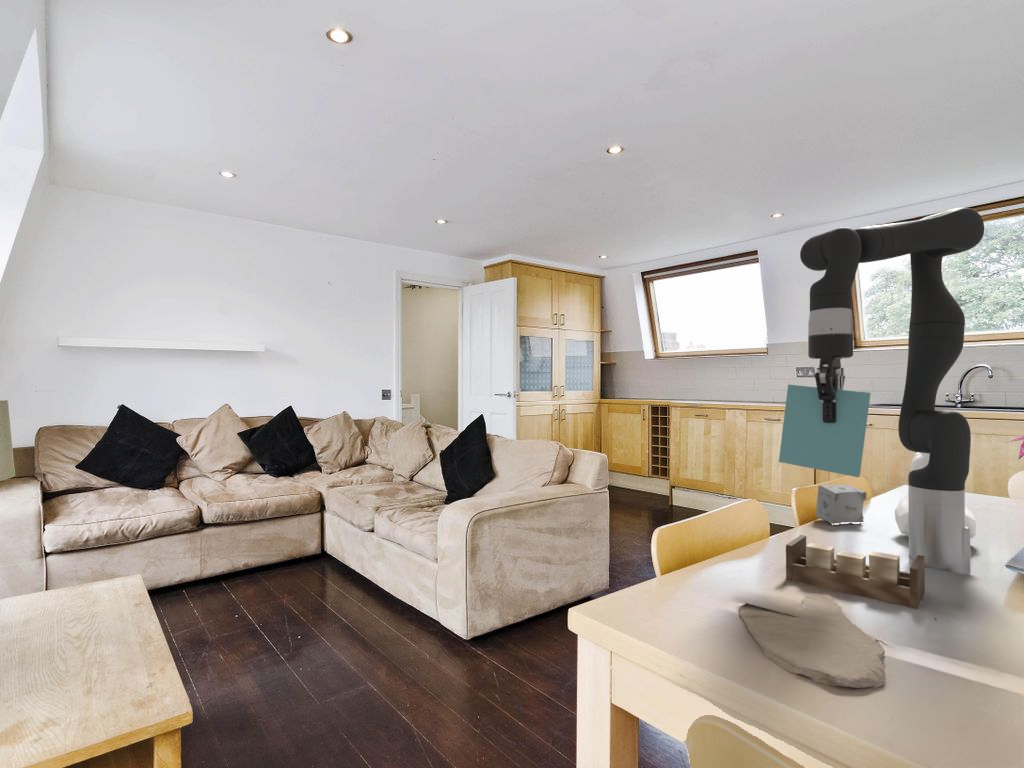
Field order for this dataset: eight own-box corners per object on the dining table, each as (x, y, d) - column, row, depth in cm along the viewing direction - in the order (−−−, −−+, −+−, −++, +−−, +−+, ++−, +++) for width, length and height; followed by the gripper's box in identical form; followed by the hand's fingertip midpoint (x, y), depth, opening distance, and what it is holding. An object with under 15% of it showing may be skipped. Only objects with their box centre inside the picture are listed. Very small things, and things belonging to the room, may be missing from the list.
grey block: (835, 527, 145) (835, 489, 146) (814, 520, 154) (814, 484, 154) (868, 526, 147) (867, 488, 147) (845, 519, 155) (845, 483, 155)
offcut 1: (834, 581, 100) (834, 547, 100) (830, 586, 97) (830, 550, 98) (810, 576, 102) (810, 542, 102) (806, 580, 100) (805, 546, 100)
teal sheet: (859, 476, 101) (870, 392, 100) (858, 477, 100) (869, 392, 99) (780, 461, 110) (789, 384, 109) (778, 461, 109) (788, 384, 108)
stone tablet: (829, 605, 94) (829, 591, 94) (918, 701, 64) (917, 681, 65) (729, 598, 97) (729, 584, 97) (770, 685, 68) (770, 666, 68)
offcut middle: (865, 588, 96) (865, 555, 96) (862, 593, 94) (862, 559, 94) (840, 583, 99) (840, 550, 99) (836, 587, 97) (836, 554, 97)
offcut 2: (899, 596, 93) (899, 555, 93) (897, 601, 91) (896, 559, 91) (872, 590, 95) (872, 551, 96) (869, 594, 93) (868, 554, 93)
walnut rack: (925, 601, 94) (924, 555, 94) (917, 618, 87) (917, 569, 87) (801, 574, 108) (801, 534, 108) (785, 587, 101) (785, 545, 101)
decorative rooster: (975, 556, 120) (974, 446, 121) (890, 542, 131) (889, 441, 131) (977, 534, 139) (976, 438, 139) (902, 523, 149) (901, 435, 150)
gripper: (844, 329, 96) (845, 425, 96) (859, 335, 106) (860, 422, 106) (799, 332, 101) (799, 423, 101) (817, 337, 111) (817, 420, 111)
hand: (830, 422), depth 104 cm, fingers closed on teal sheet, 1 cm apart
